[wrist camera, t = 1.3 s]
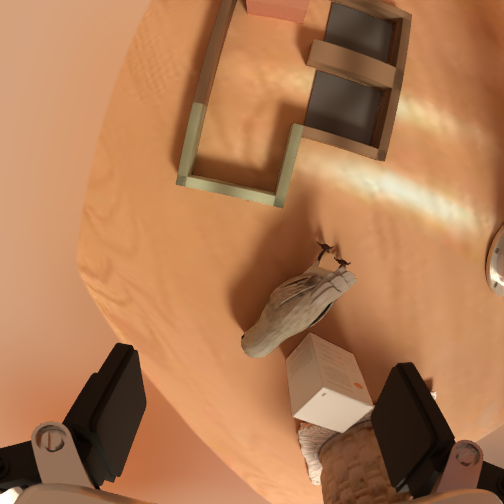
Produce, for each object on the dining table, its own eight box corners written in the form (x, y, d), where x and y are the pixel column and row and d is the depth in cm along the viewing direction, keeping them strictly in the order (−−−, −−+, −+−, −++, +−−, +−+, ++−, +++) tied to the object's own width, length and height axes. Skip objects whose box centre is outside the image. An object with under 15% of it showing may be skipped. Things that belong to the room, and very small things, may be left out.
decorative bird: (230, 324, 38) (223, 362, 31) (320, 230, 34) (335, 253, 27) (262, 347, 39) (262, 386, 32) (352, 260, 35) (372, 288, 28)
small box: (284, 358, 40) (289, 417, 30) (309, 329, 38) (322, 386, 28) (329, 379, 41) (342, 434, 31) (354, 353, 39) (375, 407, 29)
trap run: (405, 6, 24) (413, -1, 22) (358, 223, 33) (364, 229, 31) (241, -40, 23) (240, -50, 21) (181, 181, 32) (175, 184, 30)
